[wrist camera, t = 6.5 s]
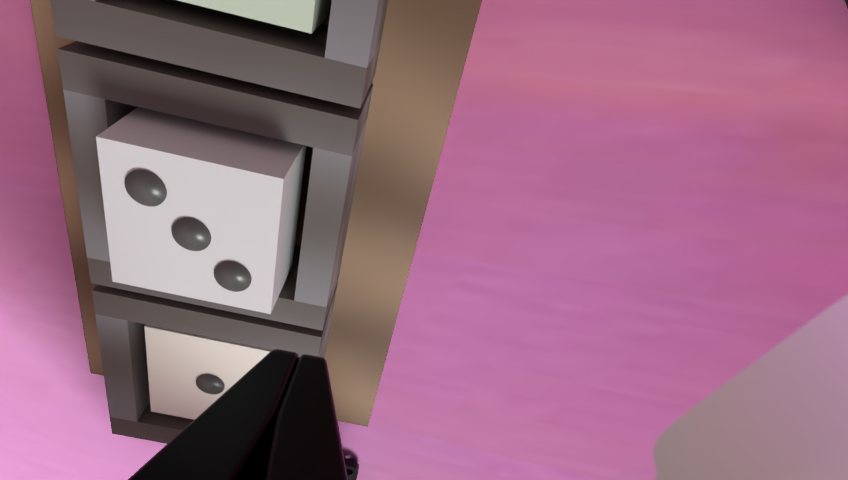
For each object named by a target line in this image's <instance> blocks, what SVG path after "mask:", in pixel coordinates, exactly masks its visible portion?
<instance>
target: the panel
mask: <svg viewBox="0 0 848 480" xmlns="http://www.w3.org/2000/svg"><path fill="white" fill-rule="evenodd" d="M30 2H31V8H32V14H33V20H34V26H35V32H36V39H37V45H38V51H39V57H40V63H41V69H42V76H43V82H44V88H45V94H46V100H47V106H48V113H49V119H50V125H51V131H52V137H53V143H54V150H55V156H56V162H57V168H58V174H59V180H60V187H61V193H62V199H63V205H64V211H65V217H66V224H67V230H68V236H69V242H70V248H71V254H72V261H73V267H74V273H75V279H76V285H77V291H78V298H79V304H80V310H81V316H82V322H83V328H84V335H85V341H86V347H87V353H88V359H89V365H90V372H91V373H93V374H98V375H104V379H105V386H106V393H107V400H108V407H109V414H110V421H111V428H112V433H113V434H118V435H124V436H129V437H134V438H140V439H145V440H151V441H156V442H161V443H167V444H168V443H169V442H170V441H171V440H173V439H174V438H175V437H176V436H177V435H178V434H179V433H180V432H181V431H183V430H184V429H185V428H186V427H187V426H188V425H189V424H190V423H191V422H193V421H194V419H188V418H183V417H178V416H173V415H167V414H162V413H157V412H152V411H151V406H150V393H149V380H148V367H147V354H146V341H145V328H144V326H145V325H146V324H147V325H151V326H156V327H161V328H166V329H171V330H176V331H181V332H186V333H191V334H196V335H201V336H206V337H211V338H216V339H221V340H226V341H231V342H236V343H241V344H246V345H251V346H256V347H261V348H266V349H271V350H274V349H280V350H286V351H291V352H296V353H297V354H298V355H299V357H300V356H301V355H302V354H307V355H313V356H318V357H323V358H325V359H326V361H327V366H328V371H329V377H330V383H331V388H332V394H333V399H334V405H335V411H336V416H337V421H342V422H347V423H352V424H357V425H362V426H368V423H369V419H370V416H371V412H372V408H373V404H374V401H375V397H376V393H377V390H378V386H379V382H380V378H381V375H382V371H383V367H384V363H385V360H386V356H387V352H388V349H389V345H390V341H391V337H392V334H393V330H394V326H395V322H396V319H397V315H398V311H399V307H400V304H401V300H402V296H403V293H404V289H405V285H406V281H407V278H408V274H409V270H410V266H411V263H412V259H413V255H414V252H415V248H416V244H417V240H418V237H419V233H420V229H421V225H422V222H423V218H424V214H425V210H426V207H427V203H428V199H429V196H430V192H431V188H432V184H433V181H434V177H435V173H436V169H437V166H438V162H439V158H440V155H441V151H442V147H443V143H444V140H445V136H446V132H447V128H448V125H449V121H450V117H451V113H452V110H453V106H454V102H455V99H456V95H457V91H458V87H459V84H460V80H461V76H462V72H463V69H464V65H465V61H466V58H467V54H468V50H469V46H470V43H471V39H472V35H473V31H474V28H475V24H476V20H477V17H478V13H479V9H480V5H481V2H482V0H332V2H331V10H330V15H329V16H328V17H327V18H326V19H325V20H324V21H323V23H322V24H321V25H320V26H319V27H318V28H317V29H316V30H315V31H314V32H313V33H312V34H311V33H307V32H303V31H298V30H294V29H290V28H286V27H282V26H278V25H274V24H270V23H266V22H262V21H258V20H254V19H250V18H246V17H242V16H238V15H234V14H230V13H226V12H222V11H218V10H214V9H210V8H206V7H202V6H198V5H194V4H190V3H186V2H182V1H178V0H30ZM137 107H141V108H145V109H150V110H154V111H158V112H162V113H167V114H171V115H175V116H180V117H184V118H188V119H193V120H197V121H201V122H206V123H210V124H214V125H219V126H223V127H227V128H231V129H236V130H240V131H244V132H249V133H253V134H257V135H262V136H266V137H270V138H275V139H279V140H283V141H288V142H292V143H296V144H300V145H305V146H306V153H305V162H304V170H303V179H302V187H301V196H300V204H299V213H298V221H297V230H296V238H295V247H294V256H293V264H292V267H291V269H290V271H289V274H288V276H287V278H286V280H285V283H284V285H283V287H282V290H281V292H280V294H279V296H278V299H277V301H276V303H275V306H274V308H273V310H272V312H271V314H267V313H262V312H257V311H253V310H248V309H243V308H238V307H233V306H228V305H223V304H219V303H214V302H209V301H204V300H199V299H194V298H190V297H185V296H180V295H175V294H170V293H165V292H161V291H156V290H151V289H146V288H141V287H136V286H131V285H127V284H122V283H117V282H112V273H111V264H110V256H109V247H108V238H107V230H106V221H105V212H104V203H103V195H102V186H101V177H100V168H99V160H98V151H97V142H96V136H97V135H99V134H100V133H102V132H103V131H105V130H106V129H107V128H109V127H110V126H112V125H113V124H115V123H116V122H117V121H119V120H120V119H122V118H123V117H125V116H126V115H127V114H129V113H130V112H132V111H133V110H135V109H136V108H137Z"/></svg>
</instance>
